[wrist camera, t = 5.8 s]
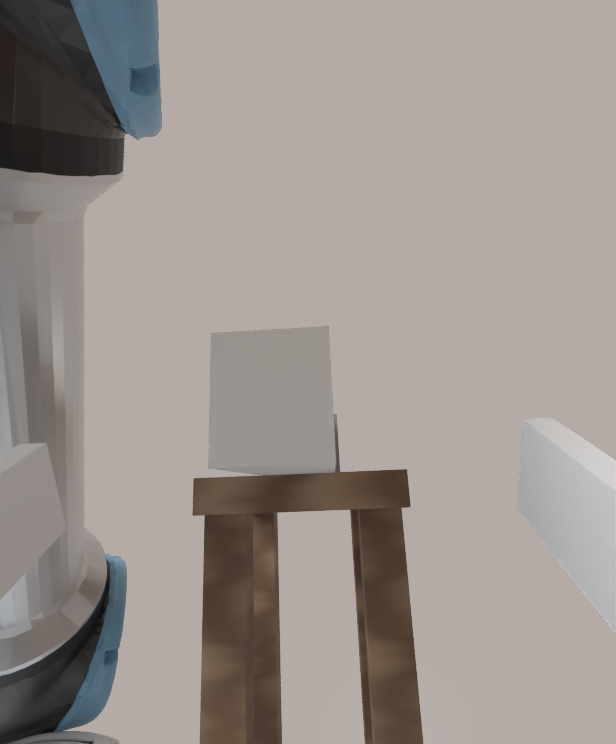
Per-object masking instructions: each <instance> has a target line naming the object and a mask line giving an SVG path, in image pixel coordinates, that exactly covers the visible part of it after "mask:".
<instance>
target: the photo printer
mask: <svg viewBox="0 0 616 744" xmlns="http://www.w3.org/2000/svg"><path fill="white" fill-rule="evenodd" d="M7 744H120V743H119V741H118V740H116V739H114V738H111V737H108V736H105V735H101V734H96V733H90V732H80V731H60V732H49V733H42V734H37V735H33V736H29V737H26V738H23V739H20V740H17V741H13V742H10V743H7Z"/></svg>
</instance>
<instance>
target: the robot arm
mask: <svg viewBox="0 0 616 744" xmlns="http://www.w3.org/2000/svg"><path fill="white" fill-rule="evenodd" d="M158 39H159V33H158V3H157V0H0V744H7V743H10V742H13V741H17V740H20V739H23V738H26V737H29V736H33V735H37V734H42V733H49V732H60V731H64V730H68V729H71V728H75V727H79V726H82V725H85V724H88V723H89V722H91V721H92V720H94V719H95V718H96V717H97V716H98V715H99V714H100V713H101V712H102V710H103V709H104V707H105V705H106V703H107V701H108V698H109V696H110V693H111V689H112V685H113V681H114V677H115V673H116V667H117V661H118V649H119V646H120V641H121V636H122V631H123V623H124V614H125V603H126V589H127V570H126V564H125V562H124V561H123V560H122V559H121V558H120V557H118V556H110V555H108V554H105V553H104V550H103V548H102V546H101V544H100V542H99V541H98V540H97V538H96V537H95V536H94V535H93V534H92V533H91V532H90V531H89V530H87V529H86V528H84V214H85V211H86V208H87V206H88V205H89V204H90V203H92V202H93V201H94V200H95V199H97V198H98V197H99V196H100V195H102V194H103V193H104V192H106V191H107V190H108V189H109V188H111V187H112V186H113V185H115V184H116V183H117V182H118V181H120V180H121V179H122V176H123V159H124V158H123V157H124V137H125V134H129V135H131V136H133V137H134V138H136V139H137V140H139V139H141V138H143V137H153V136H156V135H157V134H158V133H159V132H160V130H161V128H162V124H161V123H162V113H161V95H160V68H159V51H158ZM517 511H518V512H519V514H520V515H521V516H522V517H523V518H524V519H525V521H526V522H527V524H528V525H529V526H530V527H531V528H532V530H533V531H534V532H535V533H536V535H537V536H538V537H539V539H540V540H541V541H542V542H543V544H544V545H545V546H546V547H547V549H548V550H549V551H550V552H551V554H553V556H554V557H555V559H556V560H557V561H558V562H559V564H560V565H561V566H562V567H563V568H564V570H565V571H566V572H567V573H568V575H569V576H570V577H571V578H572V580H573V581H574V582H575V583H576V585H577V586H578V587H579V588H580V590H581V591H582V592H583V593H584V595H585V596H586V597H587V598H588V600H589V601H590V602H591V603H592V605H593V606H594V607H595V608H596V610H597V611H598V612H599V613H600V615H601V616H602V617H603V618H604V620H605V621H606V622H607V623H608V624H609V626H610V627H611V628H612V630H613V631H614V632H615V633H616V460H614V459H612V458H611V457H609V456H608V455H607V454H605V453H604V452H602V451H601V450H599V449H598V448H596V447H595V446H593V445H592V444H590V443H589V442H587V441H586V440H584V439H583V438H581V437H580V436H578V435H577V434H575V433H574V432H572V431H571V430H569V429H568V428H566V427H565V426H563V425H562V424H560V423H559V422H557V421H556V420H554V419H553V418H540V419H523V427H522V442H521V455H520V469H519V483H518V496H517Z"/></svg>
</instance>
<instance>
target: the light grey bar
mask: <svg viewBox="0 0 616 744" xmlns="http://www.w3.org/2000/svg"><path fill="white" fill-rule="evenodd" d="M210 363H211V364H210V414H209V462H208V467H209V468H210V469H217V470H225V471H233V472H240V473H249V474H256V475H263V476H265V475H288V474H311V473H335V472H340V465H339V450H338V431H337V415H336V414H333V397H332V381H331V361H330V344H329V327H328V326H325V327H307V328H289V329H273V330H255V331H238V332H221V333H211V362H210Z"/></svg>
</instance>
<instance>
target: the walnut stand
mask: <svg viewBox="0 0 616 744" xmlns="http://www.w3.org/2000/svg"><path fill="white" fill-rule="evenodd" d="M193 490H194V491H193V516H195V515H205V530H204V577H203V622H202V624H203V625H202V669H201V670H202V671H201V714H200V715H201V716H200V744H282V726H281V681H280V679H281V675H280V628H279V582H278V581H279V577H278V529H277V512H299V511H324V510H350V513H351V529H352V545H353V560H354V576H355V592H356V606H357V607H356V608H357V624H358V639H359V656H360V671H361V688H362V703H363V718H364V736H365V744H423V736H422V726H421V715H420V704H419V693H418V683H417V671H416V660H415V650H414V639H413V629H412V617H411V606H410V596H409V585H408V575H407V563H406V552H405V543H404V531H403V522H402V521H403V520H402V509H401V507H410V497H409V487H408V476H407V470H406V469H404V470H381V471H358V472H335V473H311V474H288V475H265V476H241V477H218V478H195V479H194V489H193Z"/></svg>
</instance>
